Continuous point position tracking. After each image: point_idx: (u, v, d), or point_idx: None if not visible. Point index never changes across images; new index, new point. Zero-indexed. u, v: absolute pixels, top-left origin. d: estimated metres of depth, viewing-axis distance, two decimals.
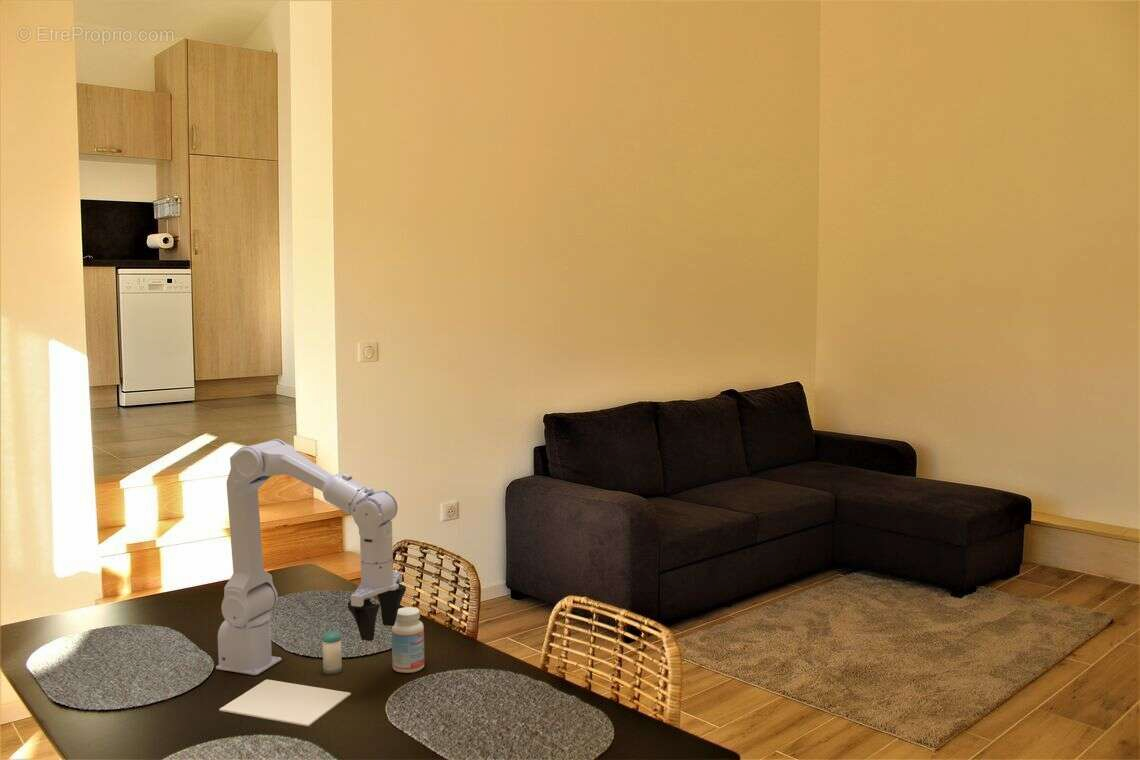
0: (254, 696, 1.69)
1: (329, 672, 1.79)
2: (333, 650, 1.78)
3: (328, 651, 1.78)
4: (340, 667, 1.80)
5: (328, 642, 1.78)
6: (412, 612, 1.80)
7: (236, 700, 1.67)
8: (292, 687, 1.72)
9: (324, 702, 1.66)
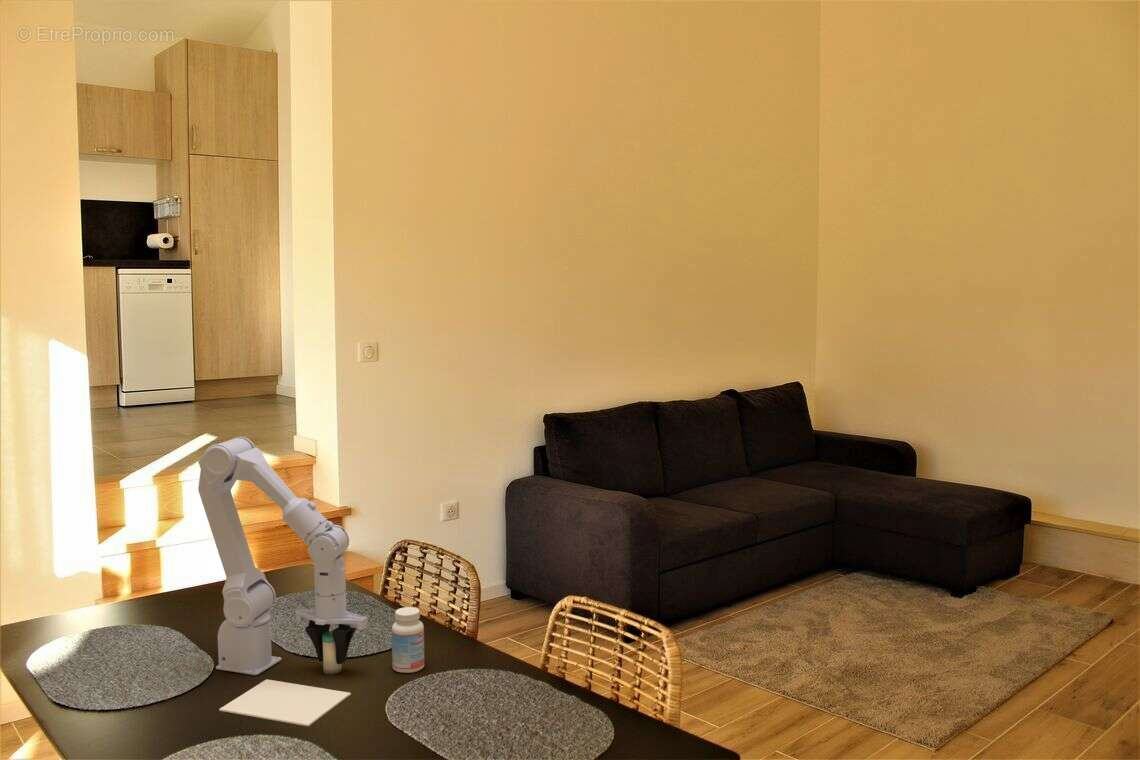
0: (254, 696, 1.69)
1: (329, 672, 1.79)
2: (333, 650, 1.78)
3: (328, 651, 1.78)
4: (340, 667, 1.80)
5: (328, 642, 1.78)
6: (412, 612, 1.80)
7: (236, 700, 1.67)
8: (292, 687, 1.72)
9: (324, 702, 1.66)
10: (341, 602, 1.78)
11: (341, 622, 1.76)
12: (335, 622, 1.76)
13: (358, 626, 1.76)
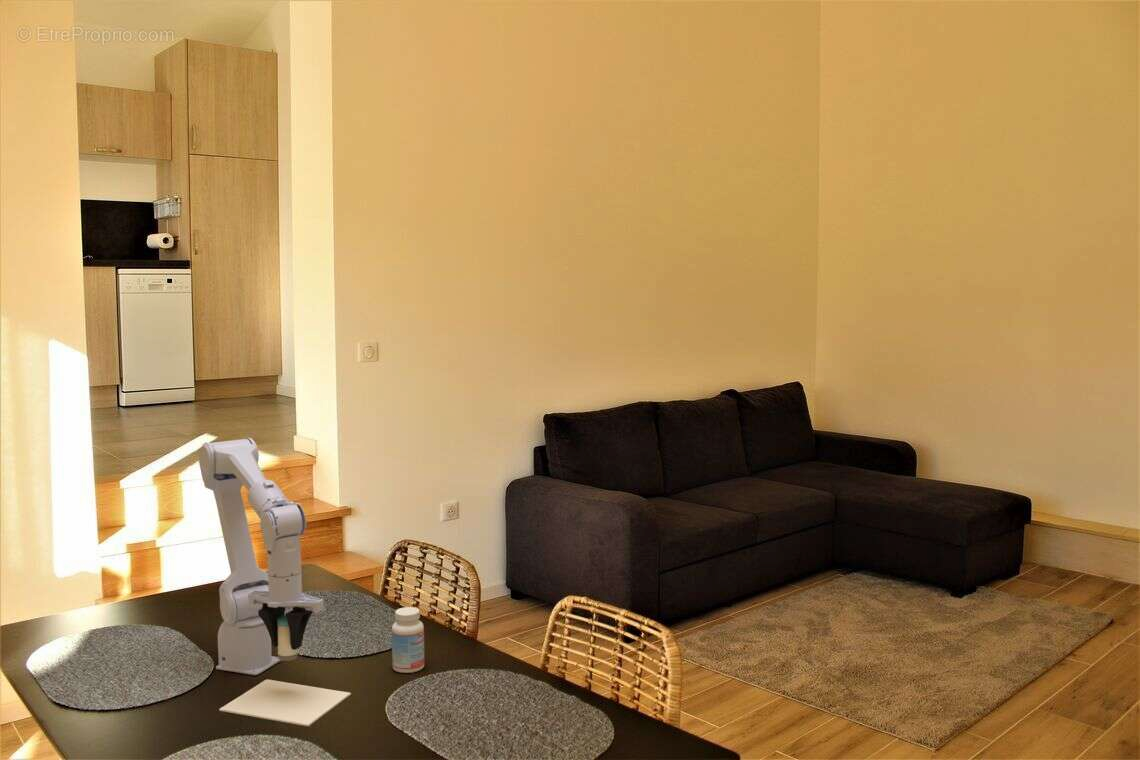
0: (254, 696, 1.69)
1: (283, 658, 1.69)
2: (288, 634, 1.68)
3: (283, 635, 1.68)
4: (296, 653, 1.70)
5: (283, 626, 1.68)
6: (412, 612, 1.80)
7: (236, 700, 1.67)
8: (292, 687, 1.72)
9: (324, 702, 1.66)
10: (296, 583, 1.67)
11: (295, 604, 1.66)
12: (289, 604, 1.66)
13: (313, 609, 1.66)
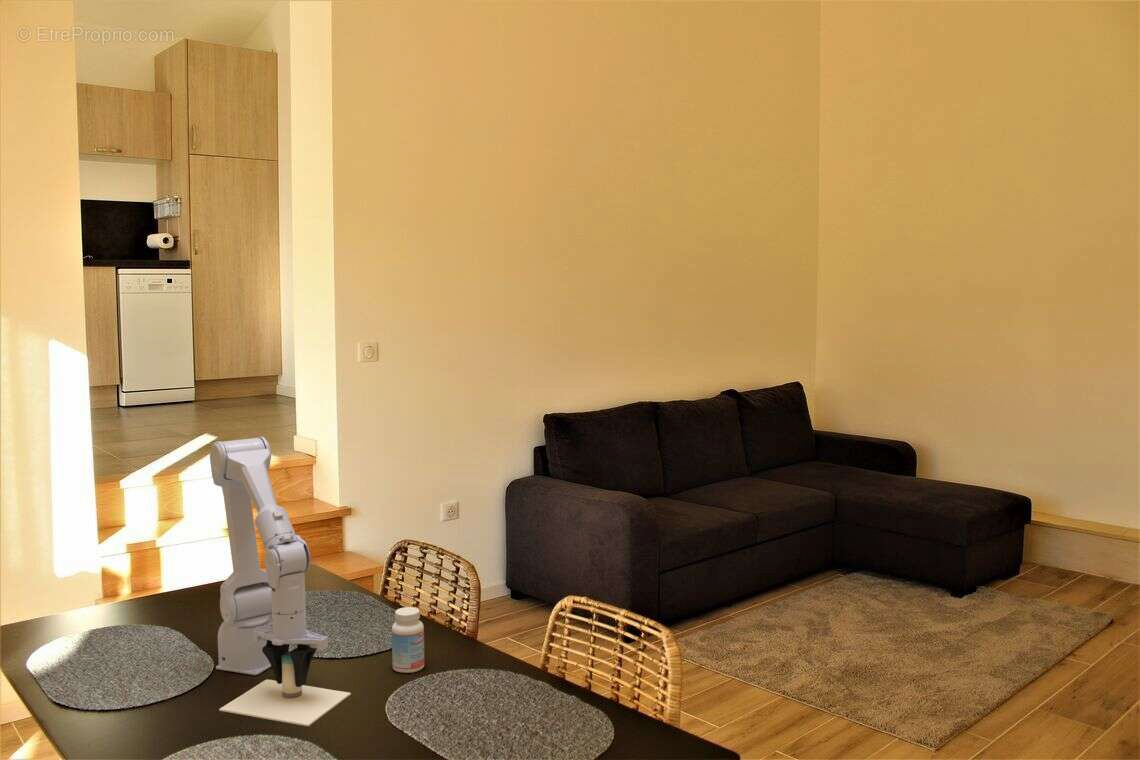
0: (254, 696, 1.69)
1: (288, 695, 1.68)
2: (292, 672, 1.68)
3: (287, 673, 1.67)
4: (300, 690, 1.69)
5: (287, 663, 1.67)
6: (412, 612, 1.80)
7: (236, 700, 1.67)
8: None
9: (324, 702, 1.66)
10: (300, 620, 1.66)
11: (300, 642, 1.65)
12: (293, 642, 1.65)
13: (318, 646, 1.65)
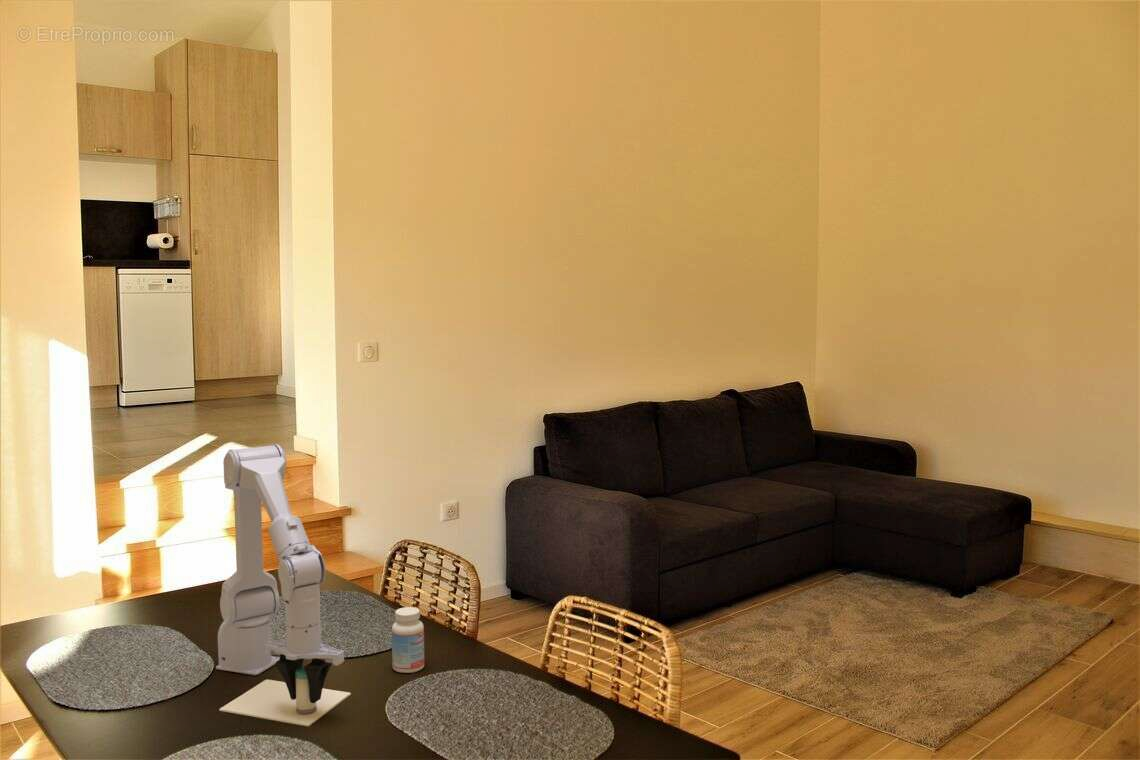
0: (254, 696, 1.69)
1: (302, 712, 1.61)
2: (307, 687, 1.61)
3: (302, 688, 1.61)
4: (315, 706, 1.63)
5: (301, 678, 1.61)
6: (412, 612, 1.80)
7: (236, 700, 1.67)
8: None
9: (324, 702, 1.66)
10: (315, 634, 1.60)
11: (315, 657, 1.59)
12: (308, 657, 1.59)
13: (334, 661, 1.59)
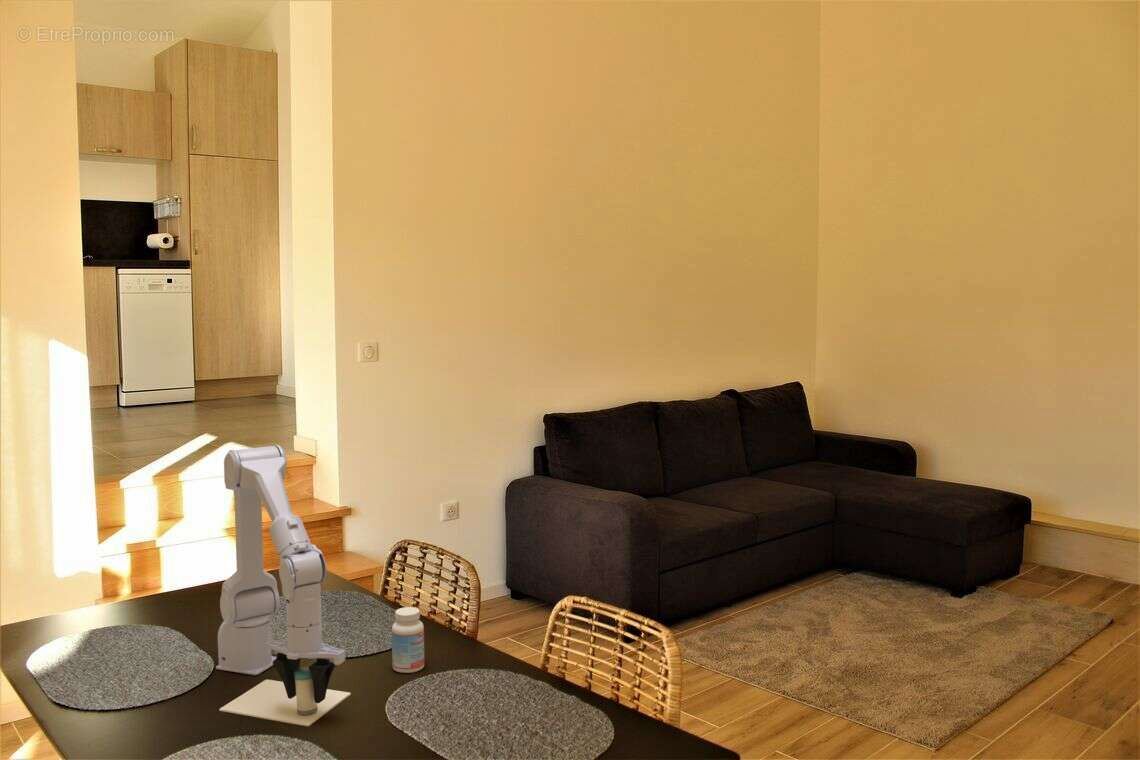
0: (254, 696, 1.69)
1: (303, 713, 1.61)
2: (306, 688, 1.61)
3: (301, 689, 1.61)
4: (315, 707, 1.62)
5: (301, 679, 1.60)
6: (412, 612, 1.80)
7: (236, 700, 1.67)
8: None
9: (324, 702, 1.66)
10: (316, 633, 1.60)
11: (316, 656, 1.58)
12: (309, 656, 1.58)
13: (335, 660, 1.58)
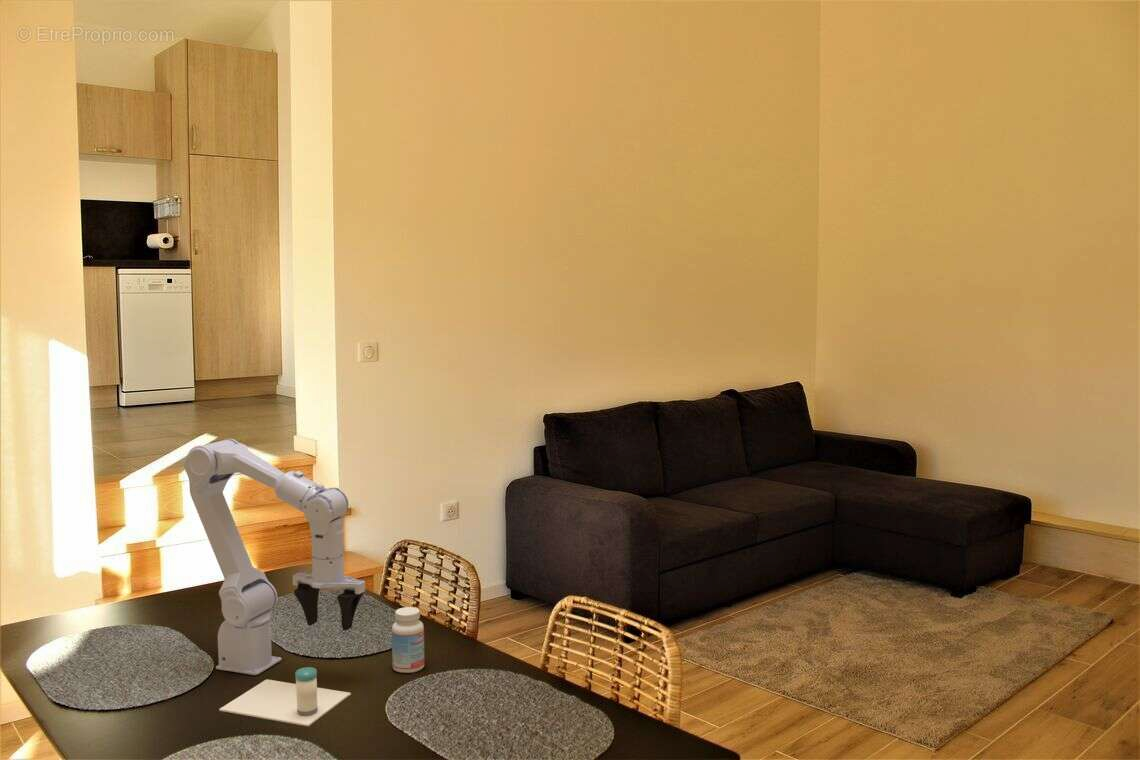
0: (254, 696, 1.69)
1: (303, 713, 1.61)
2: (307, 689, 1.60)
3: (302, 690, 1.60)
4: (315, 708, 1.62)
5: (301, 681, 1.60)
6: (412, 612, 1.80)
7: (236, 700, 1.67)
8: (292, 687, 1.72)
9: (324, 702, 1.66)
10: (338, 565, 1.74)
11: (338, 586, 1.73)
12: (332, 586, 1.73)
13: (356, 590, 1.73)
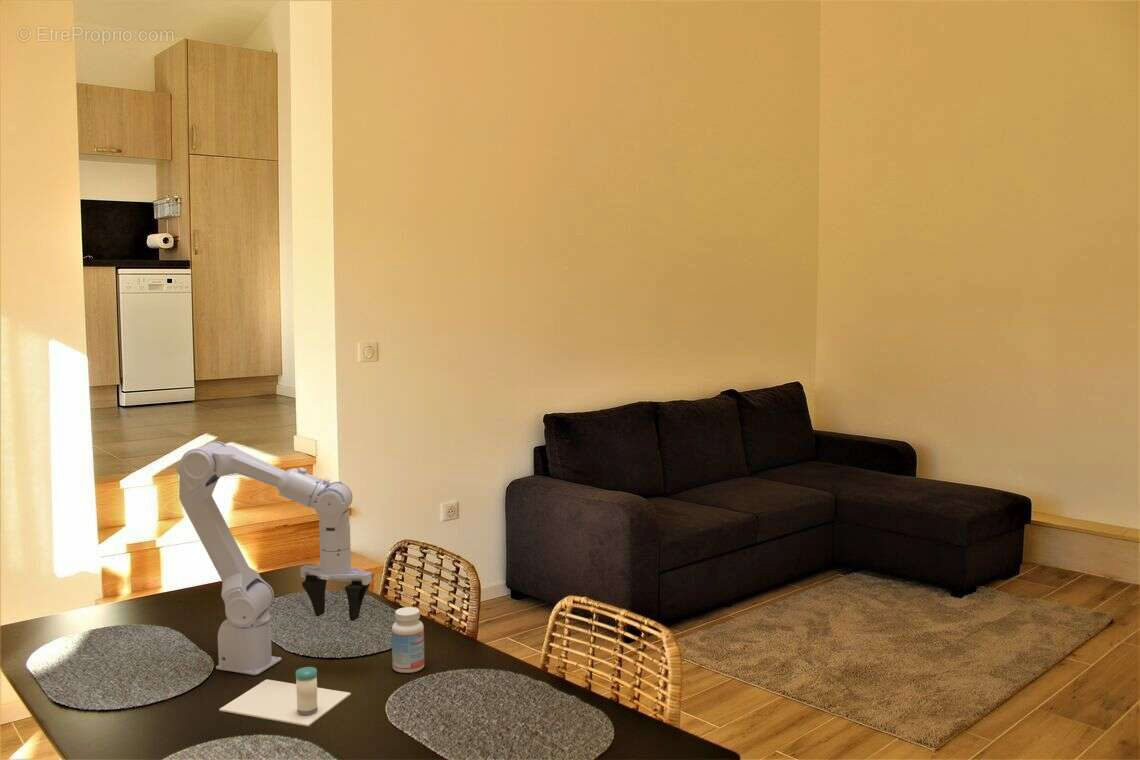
0: (254, 696, 1.69)
1: (303, 713, 1.61)
2: (307, 688, 1.61)
3: (302, 689, 1.61)
4: (315, 708, 1.62)
5: (301, 680, 1.60)
6: (412, 612, 1.80)
7: (236, 700, 1.67)
8: (292, 687, 1.72)
9: (324, 702, 1.66)
10: (346, 557, 1.79)
11: (346, 577, 1.77)
12: (340, 577, 1.77)
13: (363, 581, 1.77)
